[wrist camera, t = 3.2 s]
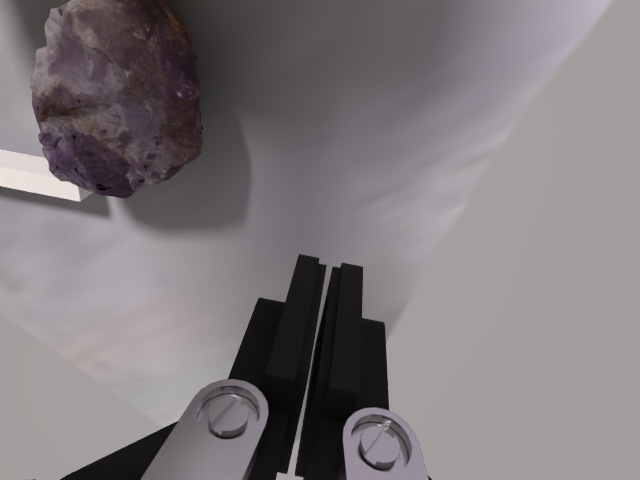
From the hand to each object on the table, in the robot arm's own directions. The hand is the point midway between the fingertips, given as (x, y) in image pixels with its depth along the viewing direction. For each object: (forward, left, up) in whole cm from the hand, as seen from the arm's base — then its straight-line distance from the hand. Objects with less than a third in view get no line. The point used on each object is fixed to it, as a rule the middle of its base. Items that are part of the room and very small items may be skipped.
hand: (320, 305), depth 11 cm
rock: (-1, -12, -18) cm, 22 cm away
